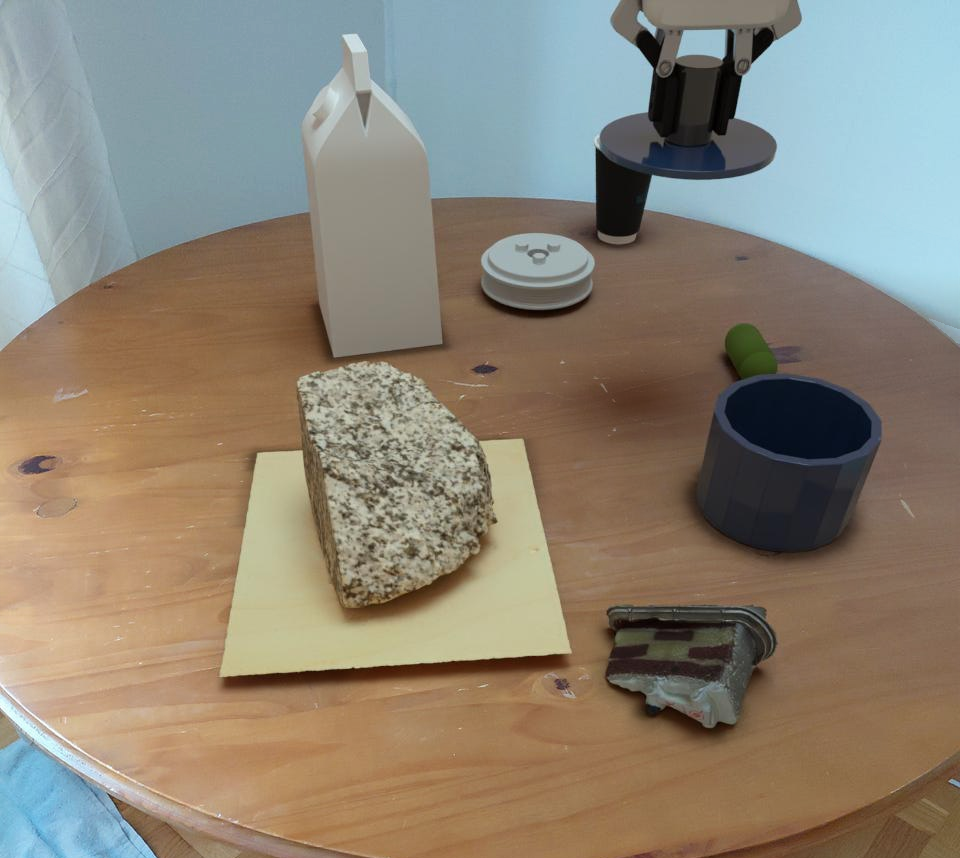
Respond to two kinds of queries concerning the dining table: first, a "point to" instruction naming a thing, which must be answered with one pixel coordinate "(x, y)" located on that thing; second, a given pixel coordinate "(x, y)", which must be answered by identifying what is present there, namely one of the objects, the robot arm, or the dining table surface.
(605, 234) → the dixie cup
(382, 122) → the milk
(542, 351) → the dining table surface
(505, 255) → the lid
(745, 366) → the green rounded cylinder
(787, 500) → the pot
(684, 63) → the pot lid
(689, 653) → the chocolate cake
